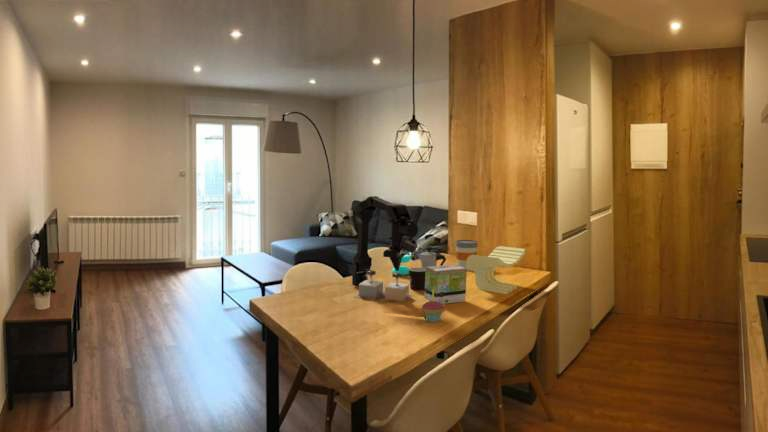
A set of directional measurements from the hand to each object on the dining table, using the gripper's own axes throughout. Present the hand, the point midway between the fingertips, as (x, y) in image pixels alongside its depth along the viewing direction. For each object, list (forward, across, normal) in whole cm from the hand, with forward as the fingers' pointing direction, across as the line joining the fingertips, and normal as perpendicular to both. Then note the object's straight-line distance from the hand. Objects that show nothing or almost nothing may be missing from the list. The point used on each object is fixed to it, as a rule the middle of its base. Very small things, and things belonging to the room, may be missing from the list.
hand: (397, 270), depth 207 cm
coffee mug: (+13, +20, -4) cm, 24 cm away
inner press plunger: (+8, 0, +12) cm, 15 cm away
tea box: (+13, +7, -20) cm, 25 cm away
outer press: (+12, 0, 0) cm, 12 cm away
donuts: (+13, +49, +14) cm, 53 cm away
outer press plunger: (+8, 0, 0) cm, 8 cm away
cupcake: (+13, -20, -22) cm, 32 cm away
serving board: (+13, 0, +6) cm, 14 cm away
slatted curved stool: (+13, +37, -37) cm, 54 cm away
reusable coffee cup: (+13, +78, -14) cm, 80 cm away
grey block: (+12, 0, +12) cm, 17 cm away
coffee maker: (+13, +35, -6) cm, 38 cm away
